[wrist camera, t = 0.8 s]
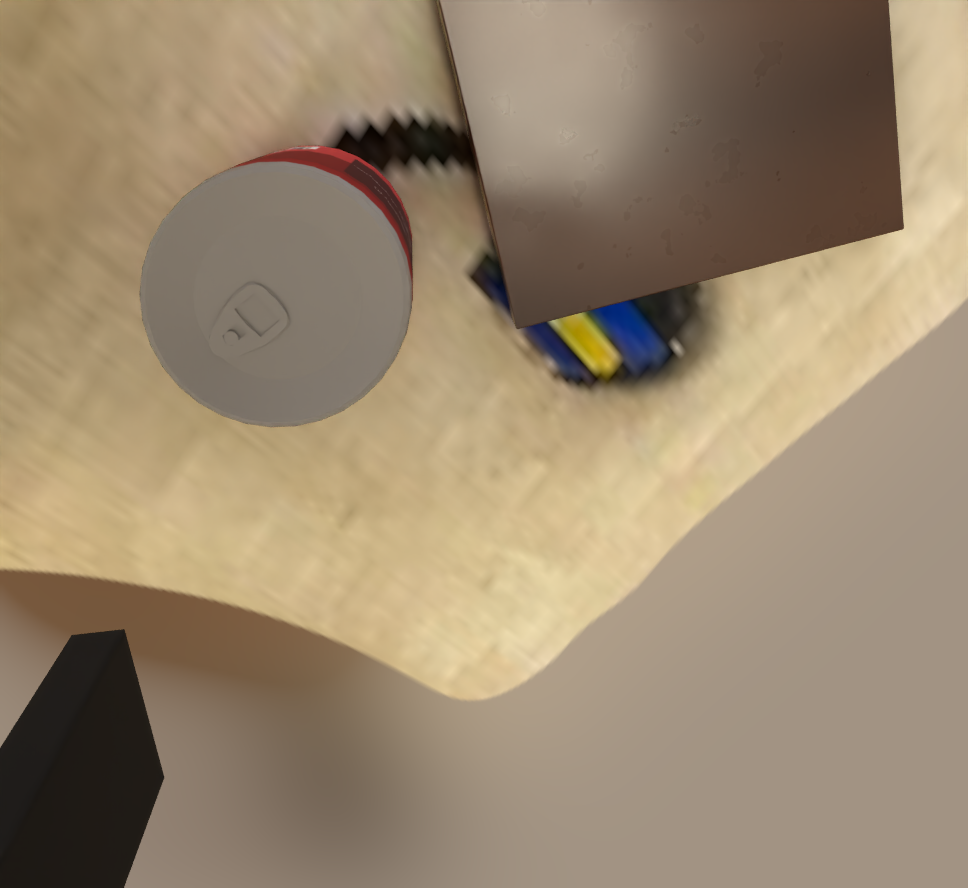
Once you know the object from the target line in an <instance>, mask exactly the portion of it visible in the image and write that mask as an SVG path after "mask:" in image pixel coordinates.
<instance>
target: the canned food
mask: <svg viewBox="0 0 968 888" xmlns="http://www.w3.org/2000/svg"><path fill="white" fill-rule="evenodd" d="M412 300H413V266H412V233H411V228H410V223H409V218H408V215H407V213H406V211H405V208H404V206H403V203H402V201H401V199H400V197H399V196H398V194H397V193H396V191H395V190H394V188H393V187H392V185H391V184H390V182H389V181H388V180H387V179H386V178H385V177H384V176H383V175H382V174H381V173H380V172H379V171H378V170H377V169H376V168H374V167H373V166H371V165H370V164H368V163H367V162H365V161H364V160H362V159H361V158H359V157H357V156H355V155H352V154H350V153H347V152H345V151H342V150H340V149H335V148H329V147H324V146H297V147H293V148H288V149H284V150H279V151H276V152H273V153H271V154H268V155H265V156H262V157H259V158H256V159H253V160H250V161H248V162H245V163H242V164H239V165H236V166H234V167H232V168H230V169H228V170H226V171H223V172H221V173H219V174H217V175H215V176H213V177H211V178H209V179H207V180H205V181H204V182H202V183H201V184H200V185H198V186H197V187H196V188H194V189H193V190H192V191H190V192H189V193H187V194H186V195H185V196H184V197H183V198H182V199H181V200H180V201H179V202H178V203H177V205H176V206H175V207H174V208H173V209H172V210H171V211H170V213H169V214H168V215H167V216H166V217H165V218H164V220H163V221H162V223H161V225H160V226H159V228H158V230H157V232H156V234H155V235H154V237H153V239H152V241H151V242H150V245H149V248H148V251H147V255H146V258H145V261H144V264H143V267H142V275H141V286H140V302H141V311H142V320H143V323H144V326H145V329H146V333H147V336H148V339H149V342H150V345H151V347H152V349H153V350H154V352H155V354H156V356H157V358H158V359H159V361H160V363H161V365H162V367H163V368H164V369H165V370H166V372H167V373H168V374H169V375H170V376H171V378H172V379H173V380H174V381H175V382H176V384H177V385H178V386H179V387H180V388H181V389H182V390H184V391H185V392H186V393H187V394H189V395H190V396H191V397H192V398H193V399H195V400H196V401H197V402H198V403H200V404H202V405H203V406H205V407H207V408H209V409H211V410H212V411H214V412H216V413H218V414H220V415H222V416H225V417H228V418H231V419H234V420H237V421H240V422H243V423H246V424H252V425H260V426H267V427H285V426H298V425H303V424H307V423H312V422H316V421H320V420H323V419H325V418H327V417H330V416H332V415H334V414H337V413H339V412H341V411H343V410H345V409H346V408H348V407H349V406H351V405H352V404H354V403H355V402H357V401H358V400H360V399H361V398H363V397H364V396H365V395H366V394H367V393H368V392H369V391H370V390H371V389H372V388H373V387H374V386H375V385H376V384H377V383H378V382H379V381H380V380H381V379H382V377H383V376H384V374H385V373H386V371H387V370H388V368H389V367H390V366H391V364H392V363H393V361H394V360H395V358H396V356H397V354H398V352H399V349H400V347H401V345H402V342H403V340H404V337H405V335H406V333H407V329H408V324H409V319H410V314H411V309H412Z"/></svg>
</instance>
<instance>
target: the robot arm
mask: <svg viewBox="0 0 968 888" xmlns="http://www.w3.org/2000/svg"><path fill="white" fill-rule="evenodd" d="M163 779H164V775H163V771H162V767H161V764H160V760H159V756H158V752H157V749H156V745H155V741H154V738H153V734H152V730H151V726H150V723H149V719H148V715H147V711H146V708H145V704H144V700H143V697H142V693H141V689H140V685H139V682H138V678H137V674H136V671H135V667H134V663H133V660H132V656H131V652H130V648H129V645H128V641H127V637H126V633H125V630H124V629H123V630H114V631H105V632H96V633H87V634H79V635H72V636H71V637H70V639H69V640H68V642H67V644H66V645H65V647H64V648H63V650H62V652H61V653H60V655H59V656H58V658H57V659H56V661H55V663H54V664H53V666H52V667H51V669H50V670H49V672H48V674H47V675H46V677H45V678H44V680H43V681H42V683H41V685H40V686H39V688H38V689H37V691H36V692H35V694H34V696H33V697H32V699H31V700H30V702H29V704H28V705H27V707H26V708H25V710H24V711H23V713H22V714H21V716H20V718H19V719H18V721H17V722H16V724H15V726H14V727H13V729H12V730H11V732H10V733H9V735H8V737H7V738H6V740H5V741H4V743H3V744H2V746H1V748H0V888H124V886H125V883H126V880H127V877H128V875H129V872H130V870H131V867H132V864H133V861H134V859H135V856H136V853H137V850H138V848H139V845H140V842H141V839H142V837H143V834H144V831H145V829H146V826H147V823H148V820H149V818H150V815H151V812H152V809H153V807H154V804H155V801H156V799H157V796H158V793H159V790H160V787H161V785H162V782H163Z"/></svg>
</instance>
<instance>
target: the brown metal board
mask: <svg viewBox="0 0 968 888" xmlns="http://www.w3.org/2000/svg"><path fill="white" fill-rule="evenodd" d="M436 3H437V7H438V12H439V16H440V20H441V24H442V28H443V32H444V37H445V41H446V45H447V49H448V53H449V58H450V62H451V66H452V70H453V74H454V79H455V83H456V87H457V91H458V95H459V99H460V104H461V108H462V112H463V116H464V120H465V125H466V129H467V133H468V137H469V141H470V146H471V150H472V154H473V158H474V162H475V166H476V171H477V175H478V179H479V183H480V187H481V192H482V196H483V200H484V204H485V208H486V213H487V217H488V221H489V225H490V229H491V233H492V238H493V242H494V246H495V250H496V254H497V259H498V263H499V267H500V271H501V275H502V280H503V284H504V288H505V292H506V296H507V300H508V305H509V309H510V313H511V317H512V320H513V322H514V324H515V327H516V329H520V328H524V327H528V326H532V325H536V324H539V323H543V322H547V321H551V320H555V319H559V318H563V317H566V316H570V315H574V314H578V313H582V312H586V311H590V310H593V309H597V308H601V307H605V306H609V305H613V304H617V303H620V302H624V301H628V300H632V299H636V298H640V297H644V296H647V295H651V294H655V293H659V292H663V291H667V290H671V289H674V288H678V287H682V286H686V285H690V284H694V283H698V282H701V281H705V280H709V279H713V278H717V277H721V276H725V275H728V274H732V273H736V272H740V271H744V270H748V269H752V268H755V267H759V266H763V265H767V264H771V263H775V262H779V261H782V260H786V259H790V258H794V257H798V256H802V255H806V254H809V253H813V252H817V251H821V250H825V249H829V248H833V247H836V246H840V245H844V244H848V243H852V242H856V241H860V240H863V239H867V238H871V237H875V236H879V235H883V234H887V233H890V232H894V231H898V230H902V229H903V228H904V224H903V210H902V195H901V180H900V165H899V150H898V136H897V121H896V106H895V91H894V76H893V62H892V47H891V32H890V17H889V3H888V0H436Z"/></svg>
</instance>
